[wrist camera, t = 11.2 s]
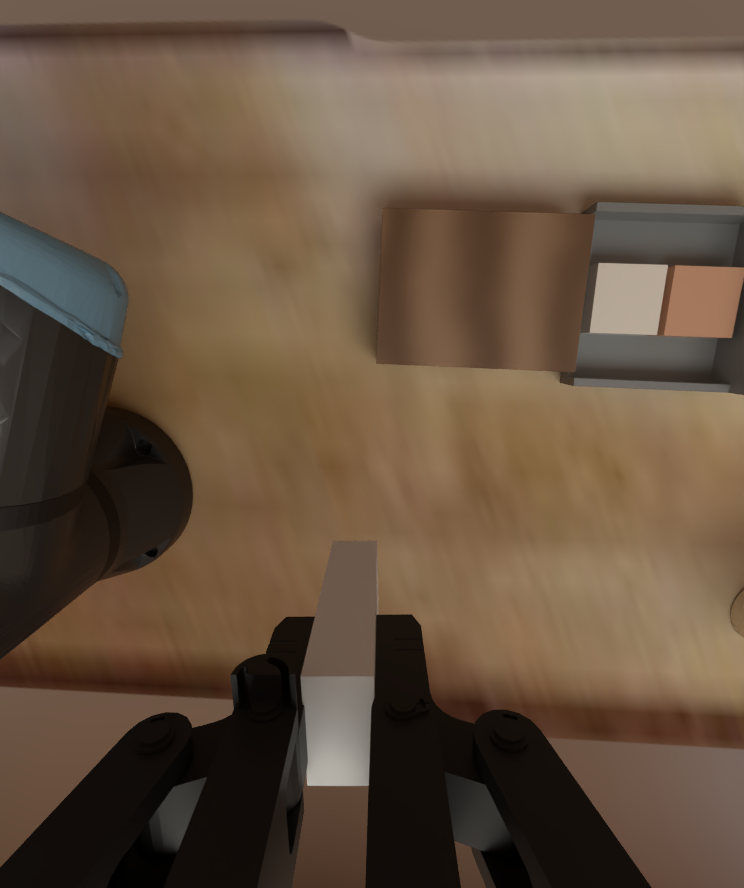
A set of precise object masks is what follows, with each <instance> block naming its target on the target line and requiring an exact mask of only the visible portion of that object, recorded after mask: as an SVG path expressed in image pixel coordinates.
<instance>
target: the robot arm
mask: <svg viewBox="0 0 744 888" xmlns="http://www.w3.org/2000/svg"><path fill="white" fill-rule="evenodd" d="M128 299H129V298H128V291H127V287H126V285H125V283H124V281H123V279H122V278H121V276H120V275H119V273H118V272H117V271H116V270H115V269H114V268H113V267H111V266H110V265H109V264H107V263H106V262H104V261H102V260H100V259H98V258H96V257H94V256H92V255H90V254H88V253H86V252H84V251H82V250H79V249H77V248H75V247H73V246H71V245H69V244H67V243H65V242H63V241H60V240H58V239H56V238H54V237H52V236H50V235H48V234H46V233H44V232H41V231H39V230H37V229H35V228H33V227H31V226H29V225H27V224H25V223H22V222H20V221H18V220H16V219H14V218H12V217H10V216H8V215H5V214H3V213H1V212H0V659H2V658H3V657H4V656H5V655H7V654H8V653H9V652H10V651H12V650H13V649H14V648H15V647H16V646H18V645H19V644H20V643H21V642H23V641H24V640H25V639H26V638H28V637H29V636H30V635H31V634H33V633H34V632H35V631H36V630H37V629H39V628H40V627H41V626H42V625H44V624H45V623H46V622H47V621H49V620H50V619H51V618H52V617H54V616H55V615H56V614H57V613H58V612H60V611H61V610H62V609H63V608H65V607H66V606H67V605H68V604H70V603H71V602H72V601H73V600H75V599H76V598H77V597H78V596H79V595H81V594H82V593H83V592H84V591H86V590H87V589H88V588H89V587H91V586H92V585H93V584H94V583H96V582H97V581H100V580H104V579H107V578H111V577H114V576H117V575H121V574H124V573H128V572H131V571H134V570H137V569H140V568H142V567H144V566H146V565H148V564H149V563H151V562H153V561H154V560H156V559H157V558H158V557H159V556H161V555H162V554H163V553H164V552H165V551H166V550H167V549H168V548H170V547H171V546H172V545H173V544H174V543H175V542H176V541H177V539H178V538H179V537H180V535H181V534H182V532H183V531H184V529H185V527H186V525H187V522H188V520H189V517H190V513H191V508H192V499H193V498H192V484H191V478H190V474H189V471H188V468H187V466H186V463H185V461H184V459H183V457H182V455H181V453H180V452H179V450H178V449H177V447H176V446H175V444H174V443H173V442H172V441H171V440H170V438H169V437H168V436H167V435H166V434H165V433H164V432H163V431H162V430H160V429H159V428H158V427H157V426H155V425H154V424H153V423H151V422H150V421H148V420H146V419H145V418H143V417H141V416H139V415H137V414H134V413H132V412H129V411H126V410H122V409H118V408H112V407H106V405H107V402H108V398H109V394H110V390H111V386H112V382H113V378H114V374H115V370H116V366H117V363H118V359H119V358H121V359H122V356H123V350H122V348H121V340H122V334H123V328H124V323H125V318H126V312H127V307H128ZM378 614H379V612H378V564H377V541H333V544H332V548H331V552H330V556H329V560H328V565H327V569H326V573H325V577H324V581H323V585H322V590H321V594H320V598H319V602H318V606H317V610H316V614H315V617H286V618H285V619H284V620H283V621H282V622H281V623H280V624H279V625H278V626H276V627H275V629H274V632H273V634H272V637H271V640H270V644H269V645H268V648H267V651H266V654H261V655H257V656H254V657H251V658H249V659H246V660H245V661H243V662H242V663H241V664H239V665H238V666H237V667H236V668H235V669H234V671H233V672H232V673H231V685H232V694H233V703H234V711H233V713H232V715H230V716H228V717H226V718H224V719H222V720H219V721H217V722H214V723H210V724H206V725H203V726H198V727H195V728H192V725H191V723H190V721H189V720H188V718H187V717H186V716H183V715H181V714H179V713H167V712H166V713H162V714H157V715H154V716H151V717H149V718H147V719H145V720H143V721H141V722H139V723H138V724H137V725H135V726H134V727H133V728H132V729H130V730H129V731H128V732H127V733H126V734H125V735H124V736H123V737H122V738H121V739H120V740H119V742H118V743H117V744H116V745H115V746H114V747H113V748H112V749H111V750H110V751H109V752H108V753H107V754H106V755H105V757H104V758H103V759H102V760H101V761H100V762H99V763H98V764H97V765H96V766H95V767H94V768H93V769H92V770H91V771H90V772H89V774H88V775H87V776H86V777H85V778H84V779H83V780H82V781H81V782H80V783H79V784H78V785H77V786H76V787H75V789H74V790H73V791H72V792H71V793H70V794H69V795H68V796H67V797H66V798H65V799H64V800H63V801H62V802H61V803H60V804H59V806H58V807H57V808H56V809H55V810H54V811H53V812H52V813H51V814H50V815H49V816H48V817H47V818H46V819H45V820H44V821H43V823H42V824H41V825H40V826H39V827H38V828H37V829H36V830H35V831H34V832H33V833H32V834H31V835H30V836H29V838H28V839H27V840H26V841H25V842H24V843H23V844H22V845H21V846H20V847H19V848H18V849H17V850H16V851H15V852H14V853H13V855H12V856H11V857H10V858H9V859H8V860H7V861H6V862H5V863H4V864H3V865H2V866H1V867H0V888H292V882H293V875H294V870H295V864H296V858H297V851H298V845H299V839H300V833H301V827H302V821H303V814H304V800H303V787H304V781H305V775H306V770H307V785H308V786H369V794H368V826H367V856H366V857H367V858H366V887H365V888H461V885H460V878H459V872H458V864H457V857H456V850H455V843H454V841H456V842H459V843H462V844H465V845H468V846H470V847H471V848H472V853H473V856H474V858H475V861H476V863H477V866H478V868H479V871H480V873H481V875H482V878H483V880H484V883H485V885H486V888H651V886H650V885H649V883H648V882H647V881H646V879H645V878H644V876H643V875H642V873H641V872H640V871H639V869H638V868H637V866H636V865H635V864H634V862H633V861H632V859H631V858H630V856H629V855H628V854H627V852H626V851H625V849H624V848H623V847H622V845H621V844H620V842H619V841H618V840H617V838H616V837H615V835H614V834H613V832H612V831H611V829H610V828H609V827H608V825H607V824H606V823H605V821H604V820H603V818H602V817H601V815H600V814H599V812H598V811H597V810H596V808H595V807H594V806H593V804H592V803H591V801H590V800H589V798H588V797H587V795H586V794H585V793H584V791H583V790H582V788H581V787H580V786H579V784H578V783H577V781H576V780H575V779H574V777H573V776H572V774H571V773H570V771H569V770H568V769H567V767H566V766H565V765H564V763H563V761H562V760H561V759H560V758H559V756H558V754H557V753H556V752H555V750H554V749H553V747H552V746H551V744H550V743H549V742H548V740H547V739H546V737H545V736H544V735H543V733H542V732H541V730H540V729H539V728H538V727H537V726H536V725H535V724H534V723H533V722H532V721H531V720H530V719H528V718H526V717H525V716H523V715H521V714H519V713H516V712H512V711H509V710H492V711H489V712H487V713H484V714H482V715H481V716H480V717H479V718H478V719H477V720H476V722H475V724H473V723H469V722H466V721H462V720H459V719H456V718H454V717H451V716H449V715H448V714H446V713H444V712H443V711H442V710H441V709H440V708H439V707H438V706H436V704H435V703H434V701H433V700H432V697H431V694H430V689H429V682H428V675H427V667H426V660H425V653H424V645H423V638H422V631H421V625H420V624H419V623H418V622H417V620H416V619H415V618H414V617H413V615H378Z"/></svg>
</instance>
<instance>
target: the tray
mask: <svg viewBox="0 0 744 888" xmlns="http://www.w3.org/2000/svg"><path fill="white" fill-rule="evenodd" d="M581 214H596V215H595V223H594V231H593V238H592V246H591V253H590V261H589V267H590V266H592V265H595V264H597V263H619V264H653V265H668V267H671V266H675V265H681V266H711V267H741V268H744V206H717V205H684V204H650V203H617V202H597V203H595V204H594V205H592V206H591V207H590V208H588V209H587V210H585V211H584V212H582V213H581ZM588 274H589V269H588ZM587 281H588V276H587ZM586 289H587V284H586ZM585 297H586V292H585ZM584 304H585V299H584ZM583 312H584V307H583ZM582 319H583V315H582ZM581 327H582V322H581ZM560 383H563V384H568V385H572V386H589V387H612V388H634V389H657V390H680V391H703V392H726V393H735V394H742V395H744V279H743V284H742V289H741V294H740V299H739V304H738V309H737V315H736V320H735V325H734V330H733V335H732V338H685V337H659V336H646V335H643V336H636V335H607V334H581V330H580V337H579V345H578V353H577V360H576V368H575V372H561V379H560Z"/></svg>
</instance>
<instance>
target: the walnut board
mask: <svg viewBox="0 0 744 888" xmlns="http://www.w3.org/2000/svg"><path fill="white" fill-rule="evenodd" d="M595 215H596V214H564V213H531V212H499V211H466V210H434V209H401V208H383V216H382V240H381V264H380V288H379V312H378V336H377V360H376V364H398V365H421V366H444V367H468V368H491V369H514V370H538V371H561V372H575V368H576V360H577V353H578V345H579V337H580V330H581V322H582V315H583V307H584V299H585V292H586V284H587V276H588V269H589V261H590V253H591V246H592V238H593V231H594V223H595Z"/></svg>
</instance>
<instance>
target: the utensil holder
mask: <svg viewBox="0 0 744 888" xmlns="http://www.w3.org/2000/svg"><path fill="white" fill-rule="evenodd" d="M731 621H732V624H733V627H734V628H735V630H736V631H737V632H738V633H739V634H740V635H741V636H742V637H743V638H744V590H743V591H742V592H741V593H740V594H739V595H738V596H737V597H736V599H735V601H734V603H733V605H732V608H731Z"/></svg>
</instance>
